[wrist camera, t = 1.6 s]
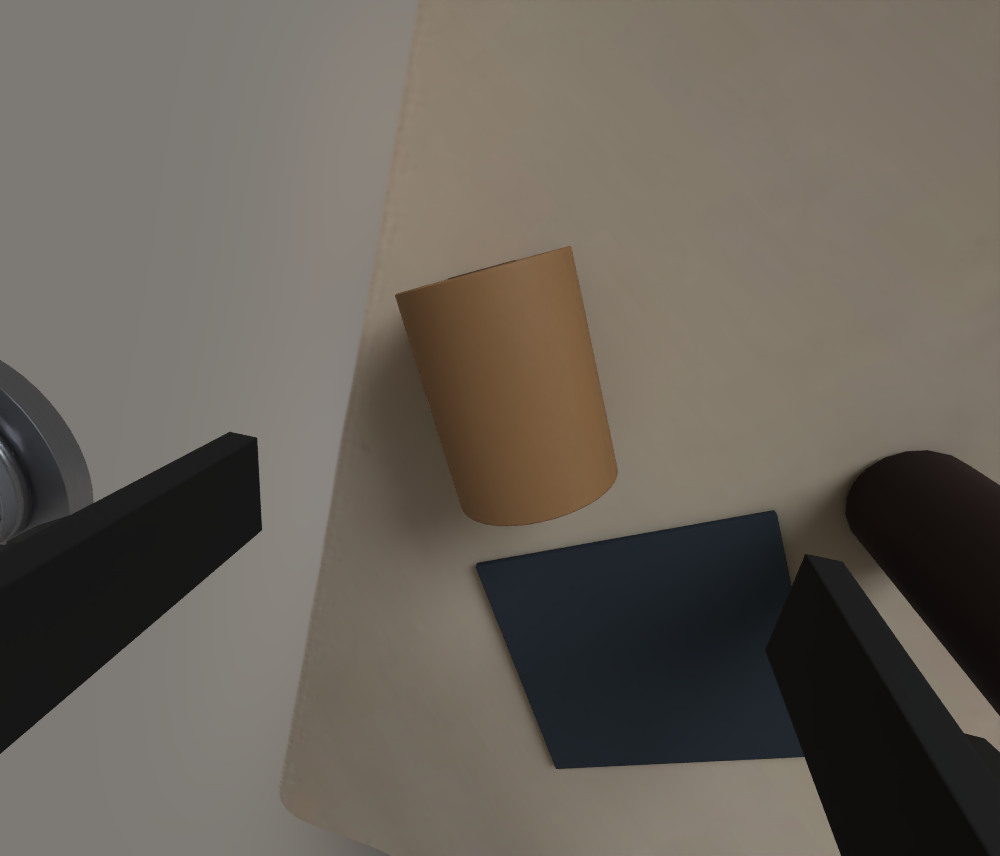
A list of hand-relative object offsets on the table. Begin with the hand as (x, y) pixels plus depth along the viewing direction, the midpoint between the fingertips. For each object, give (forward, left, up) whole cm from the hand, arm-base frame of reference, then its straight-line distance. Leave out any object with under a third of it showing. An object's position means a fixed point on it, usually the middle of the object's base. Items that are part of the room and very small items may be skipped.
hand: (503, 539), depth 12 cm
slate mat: (-1, -23, -20) cm, 30 cm away
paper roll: (-3, 0, -16) cm, 16 cm away
